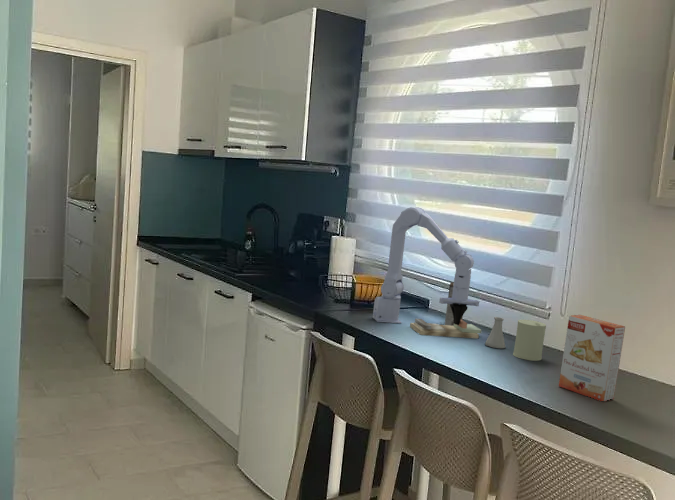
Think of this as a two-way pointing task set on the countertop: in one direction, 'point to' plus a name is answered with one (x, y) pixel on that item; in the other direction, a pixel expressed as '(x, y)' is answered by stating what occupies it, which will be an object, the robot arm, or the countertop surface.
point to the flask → (496, 335)
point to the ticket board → (439, 330)
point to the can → (529, 340)
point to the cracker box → (591, 357)
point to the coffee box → (449, 315)
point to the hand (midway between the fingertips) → (456, 324)
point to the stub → (467, 327)
